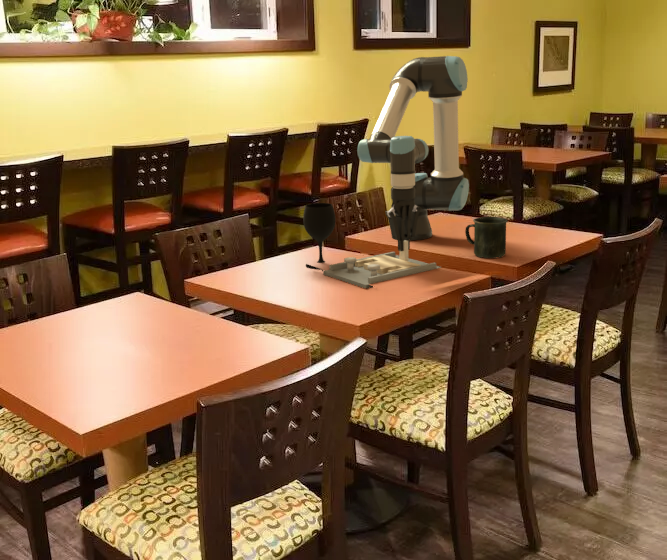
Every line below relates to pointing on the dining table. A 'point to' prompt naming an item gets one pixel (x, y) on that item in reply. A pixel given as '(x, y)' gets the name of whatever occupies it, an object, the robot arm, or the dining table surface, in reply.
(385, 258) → the panel
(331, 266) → the board
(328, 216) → the wine glass
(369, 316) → the dining table surface
